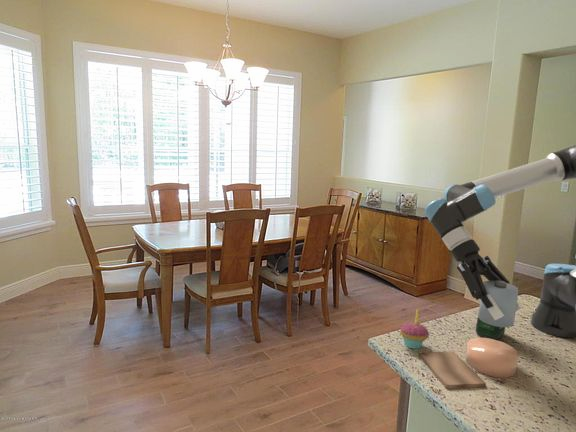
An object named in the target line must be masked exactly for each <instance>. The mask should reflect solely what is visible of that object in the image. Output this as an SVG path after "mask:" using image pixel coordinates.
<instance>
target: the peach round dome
mask: <svg viewBox="0 0 576 432" xmlns="http://www.w3.org/2000/svg"><path fill="white" fill-rule="evenodd" d="M518 360H519V353H518V351H517V350H516V349H515V348H514V347H513V346H511V345H509V344H507V343H506V342H503V341H500V340H498V339H491V338H485V337H474V338H470V339H469V340H468V341H467V348H466V354H465V363H466V364H467V365H468V366H469V367H470V368H471V369H472V370H475V371H476V372H479V373H481V374H483V375H486V376H488V377H489V376H490V377H493V378H504V379H505V378H512V377H513V376H514V375H516V373H517V372H516V371H517V366H518Z"/></svg>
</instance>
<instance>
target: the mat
mask: <svg viewBox="0 0 576 432" xmlns="http://www.w3.org/2000/svg"><path fill="white" fill-rule="evenodd" d="M418 357H419V358H420V359H421V360H422V361H423V363H424V364H425V365H426V366H427V368H428V369H429V370H430V372H432V373H433V375H434V377H436V378H437V379H438V380H439V382H440V383H441V384H442V385H443V386H444V388H445V389H463V388H482V387H483V388H486V385H487V383H486V382H485V380H483V379H482V378H481V376H479V375H478V374H477V373H476V372H475V371H474V369H473V368H472V367H470V366H469V365H468V363H467V362H466V361H465V360H463V359H462V358H461V357H460V356H459V355H458V354H457V353H456V352H455V351H429V352H427V351H425V352H423V351H422V352H418Z"/></svg>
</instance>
